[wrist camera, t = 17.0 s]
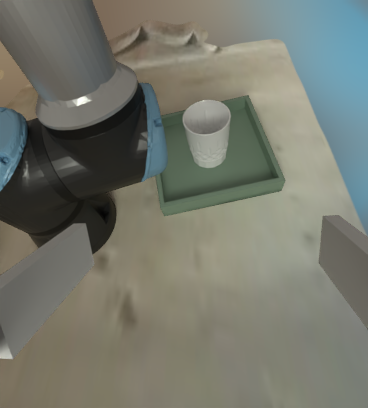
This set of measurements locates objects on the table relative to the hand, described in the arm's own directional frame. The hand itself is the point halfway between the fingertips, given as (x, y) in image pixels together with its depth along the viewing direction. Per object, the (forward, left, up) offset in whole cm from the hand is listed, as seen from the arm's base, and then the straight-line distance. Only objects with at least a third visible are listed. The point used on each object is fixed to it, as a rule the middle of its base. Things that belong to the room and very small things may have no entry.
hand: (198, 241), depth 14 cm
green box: (-18, +20, -28) cm, 39 cm away
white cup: (-18, +20, -27) cm, 38 cm away
